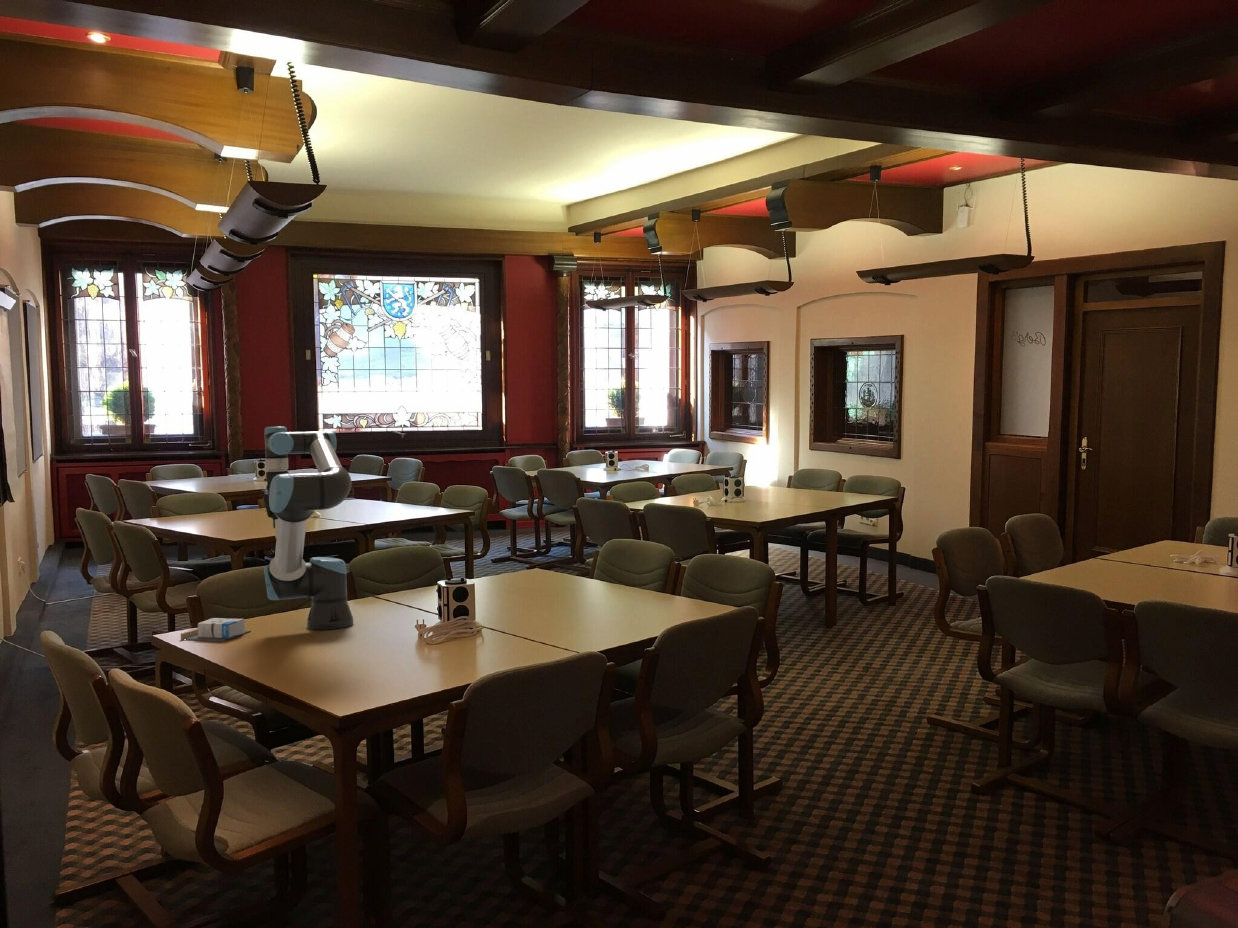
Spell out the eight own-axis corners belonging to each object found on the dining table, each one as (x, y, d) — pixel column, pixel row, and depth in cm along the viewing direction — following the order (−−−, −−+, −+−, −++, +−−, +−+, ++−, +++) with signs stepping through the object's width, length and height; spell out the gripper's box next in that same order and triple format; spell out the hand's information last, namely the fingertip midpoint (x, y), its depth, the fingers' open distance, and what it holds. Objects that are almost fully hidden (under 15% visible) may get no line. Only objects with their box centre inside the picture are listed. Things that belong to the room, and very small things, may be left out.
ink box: (228, 623, 305) (196, 622, 307) (229, 639, 305) (197, 637, 307) (244, 618, 313) (213, 616, 316) (245, 632, 313) (213, 631, 316)
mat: (250, 631, 317) (250, 625, 317) (219, 642, 302) (219, 635, 302) (213, 629, 321) (213, 623, 321) (180, 639, 307) (180, 633, 307)
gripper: (299, 469, 334) (302, 536, 335) (268, 470, 338) (270, 535, 339) (286, 471, 327) (288, 539, 328) (254, 471, 330) (256, 538, 331)
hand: (279, 537), depth 333 cm, fingers closed
